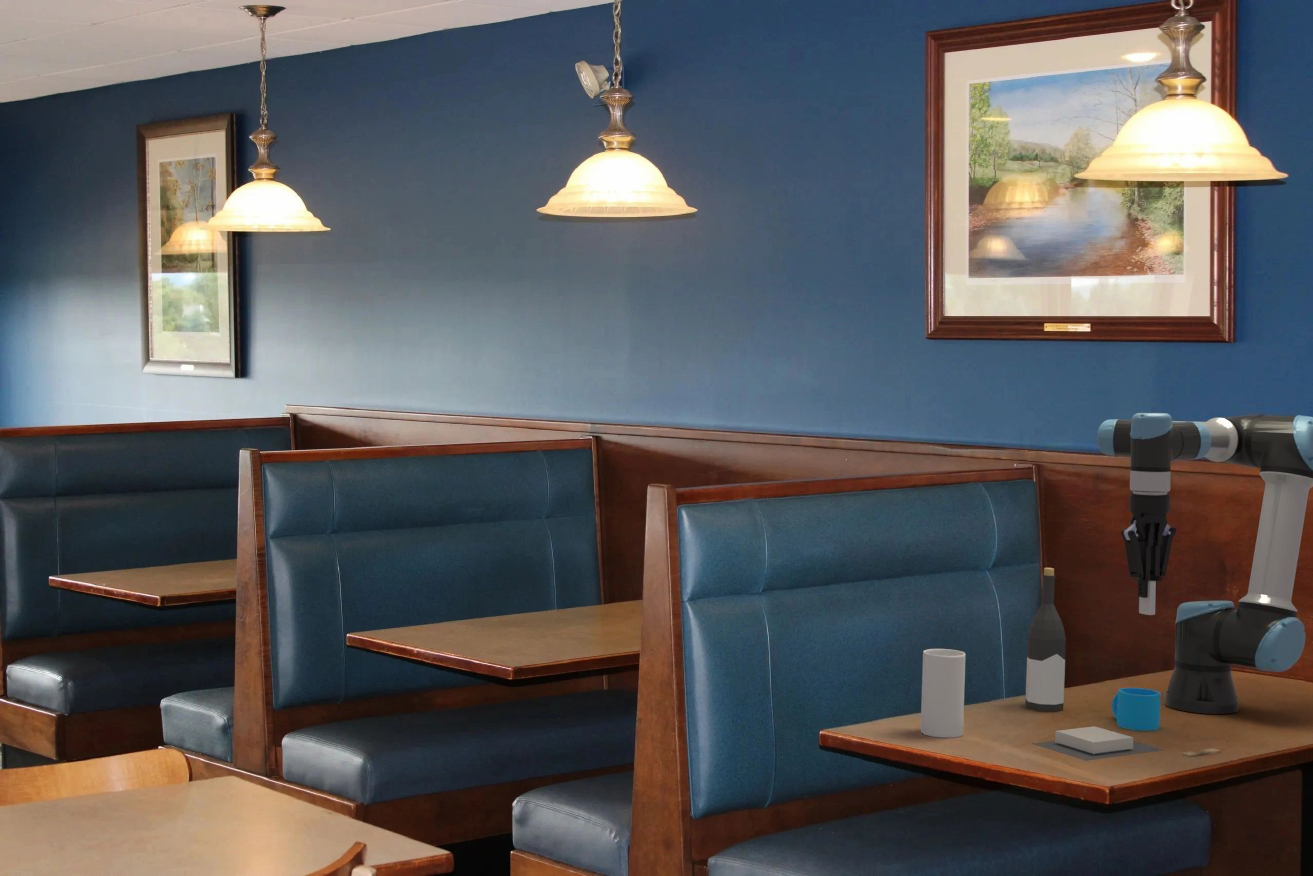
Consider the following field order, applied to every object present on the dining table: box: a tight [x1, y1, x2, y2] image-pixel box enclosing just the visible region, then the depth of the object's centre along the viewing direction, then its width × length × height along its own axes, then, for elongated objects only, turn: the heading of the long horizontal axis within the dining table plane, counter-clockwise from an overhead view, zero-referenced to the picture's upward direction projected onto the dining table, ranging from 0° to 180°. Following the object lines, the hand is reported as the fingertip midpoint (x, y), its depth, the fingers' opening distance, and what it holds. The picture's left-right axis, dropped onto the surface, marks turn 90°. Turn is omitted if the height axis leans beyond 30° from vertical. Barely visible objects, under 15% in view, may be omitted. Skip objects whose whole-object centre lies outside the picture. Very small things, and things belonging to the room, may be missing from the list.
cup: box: [920, 648, 966, 739], centre depth 308 cm, size 8×8×16 cm
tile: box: [1054, 725, 1134, 755], centre depth 294 cm, size 2×10×10 cm
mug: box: [1111, 687, 1162, 731], centre depth 315 cm, size 12×8×8 cm
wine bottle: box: [1025, 567, 1067, 713], centre depth 334 cm, size 8×8×30 cm
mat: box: [1032, 740, 1165, 761], centre depth 295 cm, size 20×14×1 cm
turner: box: [1182, 748, 1222, 758], centre depth 289 cm, size 16×6×2 cm, turn 118°
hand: (1147, 613), depth 304 cm, fingers closed
